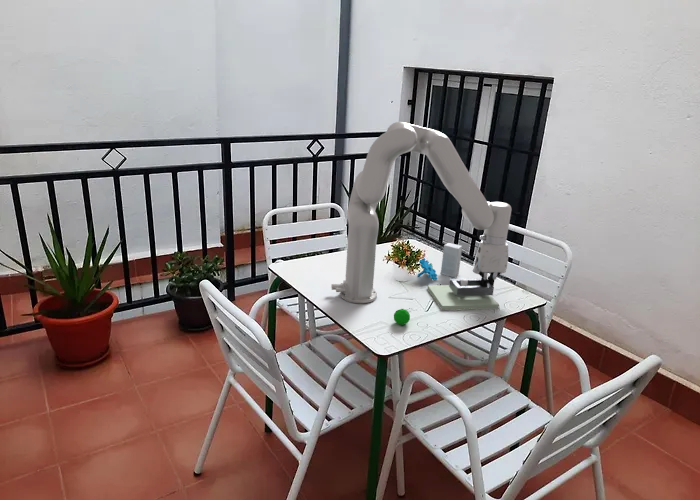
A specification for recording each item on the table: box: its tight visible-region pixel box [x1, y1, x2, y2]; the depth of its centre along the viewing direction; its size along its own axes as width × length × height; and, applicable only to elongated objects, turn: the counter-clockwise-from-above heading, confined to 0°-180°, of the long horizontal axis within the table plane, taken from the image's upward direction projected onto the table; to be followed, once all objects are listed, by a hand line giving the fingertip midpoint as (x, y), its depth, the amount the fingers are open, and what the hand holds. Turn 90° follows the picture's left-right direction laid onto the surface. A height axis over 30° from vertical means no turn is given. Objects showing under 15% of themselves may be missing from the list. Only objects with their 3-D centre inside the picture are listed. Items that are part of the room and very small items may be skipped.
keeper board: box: [427, 278, 500, 311], centre depth 170 cm, size 20×16×7 cm
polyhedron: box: [393, 308, 411, 326], centre depth 152 cm, size 5×5×5 cm
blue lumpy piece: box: [417, 257, 438, 281], centre depth 187 cm, size 11×6×10 cm
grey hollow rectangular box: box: [448, 277, 495, 296], centre depth 170 cm, size 13×7×3 cm, turn 99°
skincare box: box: [440, 242, 463, 279], centre depth 189 cm, size 6×4×12 cm
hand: (486, 288), depth 172 cm, fingers closed on grey hollow rectangular box, 1 cm apart
